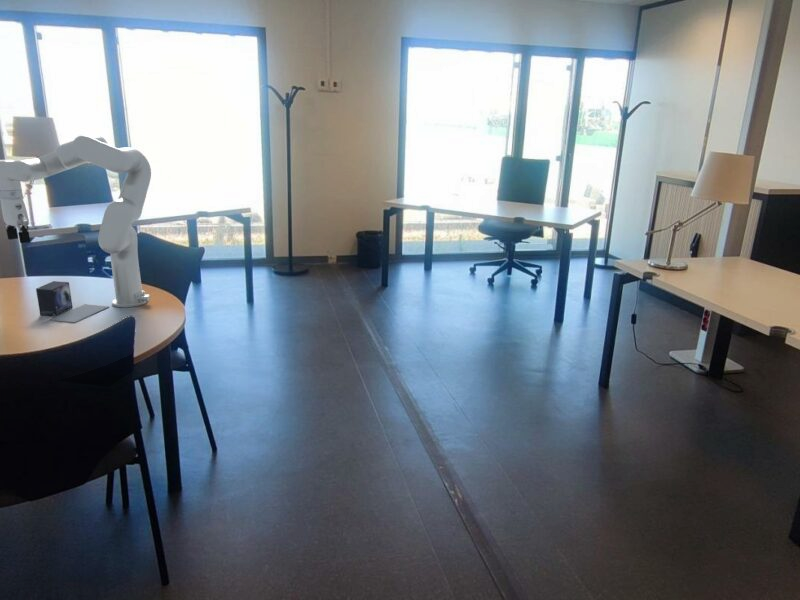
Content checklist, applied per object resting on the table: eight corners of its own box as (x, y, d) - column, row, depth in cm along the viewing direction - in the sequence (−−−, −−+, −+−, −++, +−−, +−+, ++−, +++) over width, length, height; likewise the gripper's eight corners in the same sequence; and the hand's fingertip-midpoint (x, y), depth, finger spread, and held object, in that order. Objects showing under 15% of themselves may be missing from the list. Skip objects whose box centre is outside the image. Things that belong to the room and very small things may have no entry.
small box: (57, 316, 200) (52, 289, 197) (39, 316, 200) (34, 288, 197) (74, 307, 210) (69, 281, 207) (57, 307, 210) (52, 280, 207)
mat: (109, 307, 211) (109, 306, 211) (74, 323, 194) (74, 322, 194) (85, 305, 213) (85, 304, 213) (48, 320, 196) (48, 319, 196)
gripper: (32, 195, 198) (41, 242, 204) (11, 191, 207) (19, 236, 213) (9, 197, 192) (18, 245, 198) (-12, 193, 201) (-3, 239, 207)
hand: (19, 240), depth 205 cm, fingers open, 9 cm apart
